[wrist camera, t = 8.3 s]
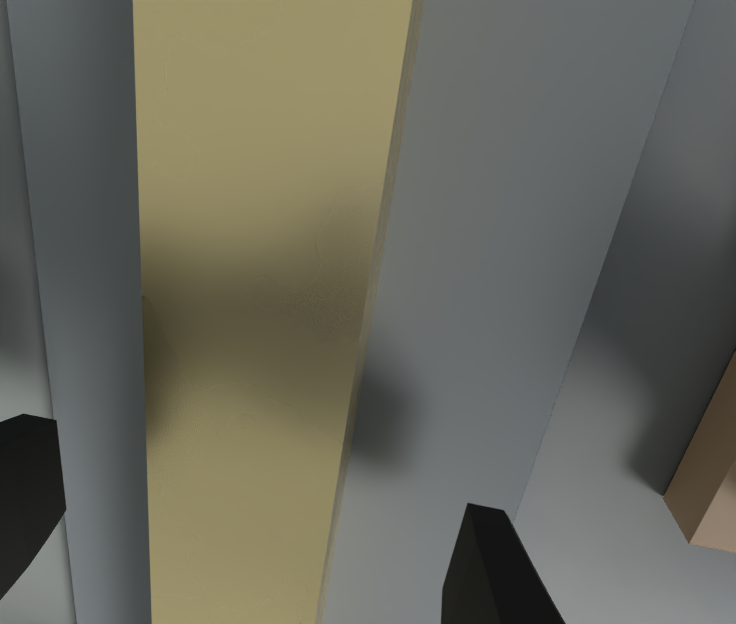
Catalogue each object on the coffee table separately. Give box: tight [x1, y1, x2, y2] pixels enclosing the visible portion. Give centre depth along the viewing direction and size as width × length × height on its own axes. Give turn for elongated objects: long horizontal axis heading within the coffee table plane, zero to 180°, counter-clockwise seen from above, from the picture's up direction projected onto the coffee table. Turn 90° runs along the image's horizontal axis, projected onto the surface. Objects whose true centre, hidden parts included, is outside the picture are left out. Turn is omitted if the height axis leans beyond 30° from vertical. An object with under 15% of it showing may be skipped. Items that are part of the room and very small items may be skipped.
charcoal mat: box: [6, 0, 695, 624], centre depth 11 cm, size 10×22×1 cm, turn 171°
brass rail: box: [133, 0, 425, 624], centre depth 9 cm, size 3×19×3 cm, turn 172°
